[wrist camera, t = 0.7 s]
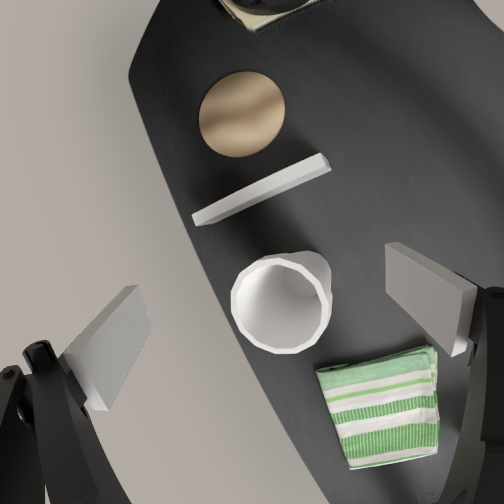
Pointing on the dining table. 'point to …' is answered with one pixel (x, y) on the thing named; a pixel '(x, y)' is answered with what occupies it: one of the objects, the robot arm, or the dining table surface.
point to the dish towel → (385, 407)
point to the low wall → (263, 189)
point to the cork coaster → (242, 114)
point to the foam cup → (283, 301)
